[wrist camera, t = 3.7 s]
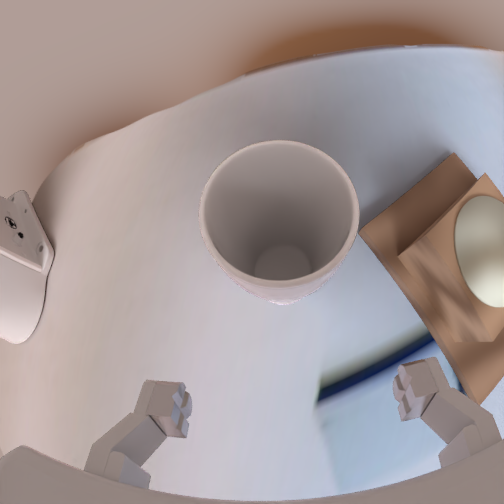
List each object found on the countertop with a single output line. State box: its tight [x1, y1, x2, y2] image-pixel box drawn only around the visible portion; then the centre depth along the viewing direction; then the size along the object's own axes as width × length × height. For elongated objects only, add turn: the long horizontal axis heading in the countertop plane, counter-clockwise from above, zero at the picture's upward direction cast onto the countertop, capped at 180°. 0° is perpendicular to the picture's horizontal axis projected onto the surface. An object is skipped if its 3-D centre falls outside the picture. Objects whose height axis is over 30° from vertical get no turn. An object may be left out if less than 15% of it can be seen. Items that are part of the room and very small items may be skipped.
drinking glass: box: [199, 140, 360, 305], centre depth 19 cm, size 7×7×15 cm
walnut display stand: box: [358, 152, 504, 405], centre depth 20 cm, size 22×16×8 cm
